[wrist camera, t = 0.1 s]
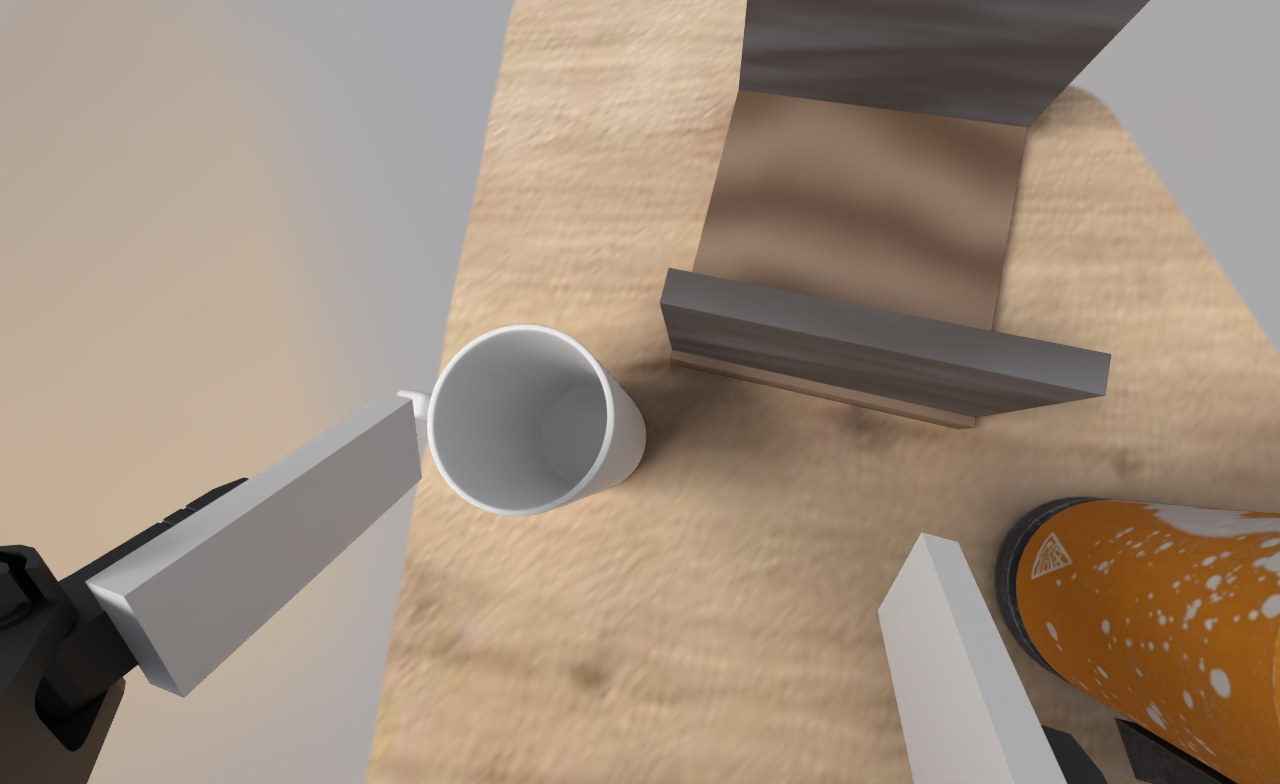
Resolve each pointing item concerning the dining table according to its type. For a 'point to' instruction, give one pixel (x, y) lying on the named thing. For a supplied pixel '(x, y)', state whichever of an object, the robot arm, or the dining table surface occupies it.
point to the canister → (1157, 627)
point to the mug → (529, 422)
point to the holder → (883, 205)
